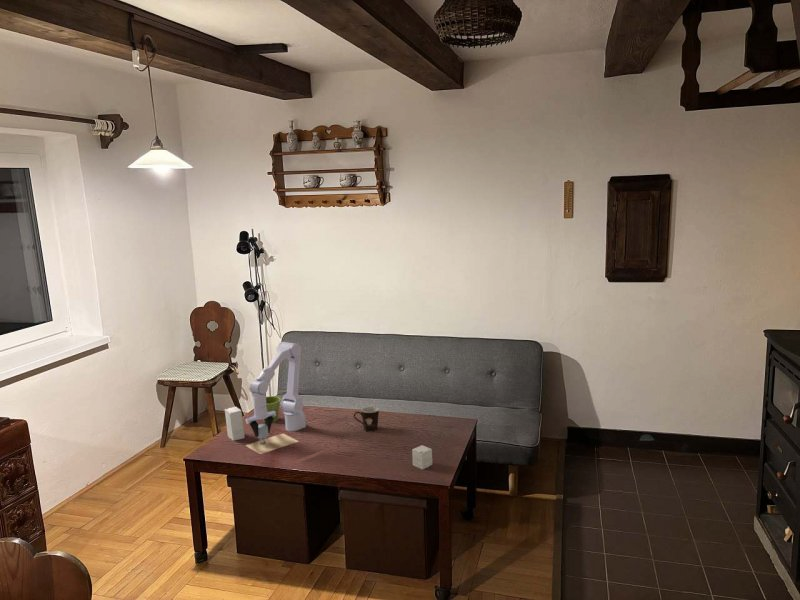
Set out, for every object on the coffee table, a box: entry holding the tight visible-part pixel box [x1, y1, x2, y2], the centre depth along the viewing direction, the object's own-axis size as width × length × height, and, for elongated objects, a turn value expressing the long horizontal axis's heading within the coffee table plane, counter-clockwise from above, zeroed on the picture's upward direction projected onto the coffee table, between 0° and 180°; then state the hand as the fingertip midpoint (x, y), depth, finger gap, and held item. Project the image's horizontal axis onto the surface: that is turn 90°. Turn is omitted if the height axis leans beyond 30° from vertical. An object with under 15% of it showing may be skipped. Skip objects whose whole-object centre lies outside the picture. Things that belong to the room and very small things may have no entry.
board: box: [244, 433, 299, 455], centre depth 295 cm, size 20×14×1 cm
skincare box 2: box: [411, 444, 433, 470], centre depth 268 cm, size 6×6×7 cm
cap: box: [256, 423, 269, 440], centre depth 294 cm, size 5×5×5 cm
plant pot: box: [262, 395, 282, 424], centre depth 326 cm, size 12×12×11 cm
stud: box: [259, 438, 267, 445], centre depth 295 cm, size 3×3×3 cm
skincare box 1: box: [224, 406, 246, 441], centre depth 303 cm, size 8×6×15 cm
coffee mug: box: [353, 406, 380, 432], centre depth 310 cm, size 12×9×10 cm
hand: (262, 434), depth 294 cm, fingers closed on cap, 5 cm apart
